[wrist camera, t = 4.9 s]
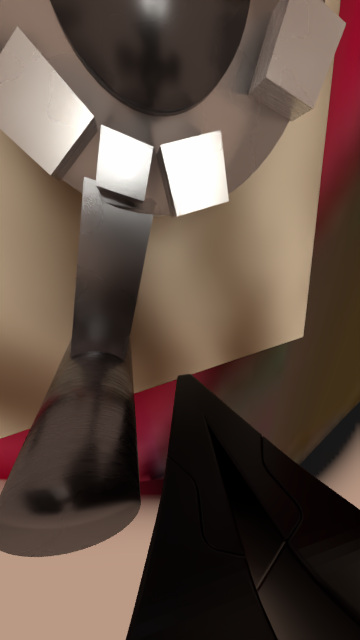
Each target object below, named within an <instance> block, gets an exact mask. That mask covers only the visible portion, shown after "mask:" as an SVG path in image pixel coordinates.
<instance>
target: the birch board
mask: <svg viewBox="0 0 360 640" xmlns="http://www.w3.org/2000/svg"><path fill="white" fill-rule="evenodd" d="M325 4H326V5H327V6H328V7H329V8H330V9H331V10H332V11H333V12H334V13H335V14H337V15H338V16H339V9H340V0H325ZM333 63H334V57H333V59H332V62H331V64H330V67H329V70H328V72H327V75H326V77H325V80H324V82H323V85H322V88H321V90H320V93H319V95H318V98H317V101H316V103H315V106H314V108H313V109H312V110H310V111H309V112H307V113H305V114H304V115H302V116H300V117H299V118H297V119H295V120H294V121H292V122H291V121H289V123H288V125H287V127H286V128H285V130H284V132H283V134H282V136H281V137H280V139H279V140H278V142H277V143H276V145H275V147H274V148H273V150H272V151H271V153H270V154H269V155H268V157H267V158H266V159H265V160H264V162H263V163H262V164H261V165H260V166H259V168H258V169H257V170H256V171H255V172H254V173H253V174H252V175H251V176H250V177H249V178H248V179H247V180H246V181H245V182H244V183H243V184H242V185H240V186H239V187H238V188H236V189H235V190H234V191H232V192H231V193H230V194H228V198H229V201H228V202H224V203H221V204H217V205H214V206H211V207H207V208H204V209H200V210H197V211H194V212H190V213H187V214H183V215H180V216H176V217H171V215H169V216H163V217H153V219H152V225H151V230H150V235H149V240H148V245H147V250H146V256H145V261H144V266H143V271H142V276H141V281H140V287H139V292H138V297H137V302H136V307H135V312H134V318H133V323H132V328H131V333H130V338H129V339H130V341H131V351H132V367H133V384H134V393H137V392H140V391H143V390H146V389H149V388H152V387H155V386H158V385H161V384H164V383H167V382H170V381H173V380H176V379H177V377H178V375H184V374H194V373H197V372H200V371H203V370H206V369H209V368H212V367H215V366H218V365H220V364H223V363H226V362H229V361H232V360H235V359H238V358H241V357H244V356H247V355H250V354H253V353H256V352H259V351H262V350H265V349H268V348H271V347H274V346H277V345H280V344H283V343H286V342H289V341H292V340H295V339H298V338H301V337H303V334H304V325H305V316H306V307H307V297H308V288H309V279H310V270H311V261H312V252H313V243H314V234H315V225H316V216H317V207H318V198H319V189H320V180H321V171H322V162H323V153H324V144H325V135H326V126H327V117H328V108H329V99H330V90H331V81H332V72H333ZM82 195H83V194H82V193H81V192H79V191H78V190H76V189H75V188H73V187H72V186H70V185H69V184H68V183H66V182H65V181H63V180H61V181H58V180H57V179H55V178H54V177H52V176H51V175H50V174H49V173H47V172H46V171H45V170H44V169H43V168H42V167H41V166H40V165H39V164H38V163H37V162H36V161H34V160H33V159H32V158H31V157H30V156H29V155H28V154H27V153H26V152H25V151H24V150H22V149H21V148H20V147H19V146H18V145H17V144H16V143H15V142H14V141H13V140H12V139H11V138H9V137H8V136H7V135H6V134H5V133H4V132H3V131H2V130H1V129H0V438H3V437H6V436H9V435H12V434H15V433H18V432H21V431H24V430H27V429H30V428H31V426H32V424H33V422H34V420H35V418H36V415H37V413H38V411H39V409H40V407H41V404H42V402H43V400H44V398H45V396H46V393H47V391H48V389H49V387H50V385H51V382H52V380H53V378H54V376H55V374H56V371H57V369H58V367H59V365H60V363H61V360H62V358H63V356H64V354H65V352H66V349H67V347H68V345H69V343H70V341H71V338H72V328H73V314H74V301H75V288H76V275H77V262H78V248H79V235H80V222H81V209H82Z"/></svg>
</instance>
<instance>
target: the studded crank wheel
mask: <svg viewBox="0 0 360 640" xmlns="http://www.w3.org/2000/svg"><path fill="white" fill-rule="evenodd" d="M345 26H346V23H345V22H344V21H343V20H342V19H341V18H340V17H339V16H338V15H337V14H335V13H334V12H333V11H332V10H331V9H330V8H329V7H328V6H327V5H326V4H325V0H0V129H1V130H2V131H3V132H4V133H5V134H6V135H7V136H8V137H9V138H11V139H12V140H13V141H14V142H15V143H16V144H17V145H18V146H19V147H20V148H21V149H22V150H24V151H25V152H26V153H27V154H28V155H29V156H30V157H31V158H32V159H33V160H34V161H36V162H37V163H38V164H39V165H40V166H41V167H42V168H43V169H44V170H45V171H46V172H47V173H49V174H50V175H51V176H52V177H54V178H55V179H57V180H58V181H61V180H63V181H65V182H66V183H68V184H69V185H70V186H72V187H73V188H75V189H76V190H78V191H79V192H81V193H82V194H83V195H82V209H81V222H80V235H79V248H78V262H77V275H76V288H75V301H74V314H73V328H72V338H71V341H70V343H69V345H68V347H67V349H66V352H65V354H64V356H63V358H62V360H61V363H60V365H59V367H58V369H57V371H56V374H55V376H54V378H53V380H52V382H51V385H50V387H49V389H48V391H47V393H46V396H45V398H44V400H43V402H42V404H41V407H40V409H39V411H38V413H37V415H36V418H35V420H34V422H33V424H32V426H31V429H30V431H29V433H28V435H27V437H26V440H25V442H24V444H23V446H22V448H21V451H20V453H19V455H18V457H17V459H16V462H15V464H14V466H13V468H12V470H11V473H10V475H9V477H8V479H7V481H6V484H5V486H4V488H3V490H2V492H1V495H0V550H1V551H3V552H6V553H8V554H12V555H18V556H27V557H44V556H54V555H61V554H66V553H71V552H74V551H78V550H81V549H85V548H88V547H91V546H93V545H96V544H98V543H100V542H102V541H105V540H106V539H109V538H110V537H112V536H114V535H115V534H117V533H119V532H120V531H121V530H123V529H124V528H125V527H126V526H127V525H129V524H130V522H132V520H133V519H134V518H135V516H136V515H137V514H138V511H139V509H140V505H141V500H140V482H139V466H138V450H137V433H136V417H135V400H134V384H133V367H132V351H131V341H130V339H129V338H130V333H131V328H132V323H133V318H134V312H135V307H136V302H137V297H138V292H139V287H140V281H141V276H142V271H143V266H144V261H145V256H146V250H147V245H148V240H149V235H150V230H151V225H152V219H153V217H163V216H169V215H171V217H176V216H180V215H183V214H187V213H190V212H194V211H197V210H200V209H204V208H207V207H211V206H214V205H217V204H221V203H224V202H228V201H229V198H228V194H230V193H231V192H232V191H234V190H235V189H236V188H238V187H239V186H240V185H242V184H243V183H244V182H245V181H246V180H247V179H248V178H249V177H250V176H251V175H252V174H253V173H254V172H255V171H256V170H257V169H258V168H259V166H260V165H261V164H262V163H263V162H264V160H265V159H266V158H267V157H268V155H269V154H270V153H271V151H272V150H273V148H274V147H275V145H276V143H277V142H278V140H279V139H280V137H281V136H282V134H283V132H284V130H285V128H286V127H287V125H288V123H289V121H291V122H292V121H294V120H295V119H297V118H299V117H300V116H302V115H304V114H305V113H307V112H309V111H310V110H312V109H313V108H314V106H315V103H316V101H317V98H318V95H319V93H320V90H321V88H322V85H323V82H324V80H325V77H326V75H327V72H328V70H329V67H330V64H331V62H332V59H333V57H334V54H335V51H336V49H337V46H338V44H339V41H340V39H341V36H342V33H343V31H344V28H345Z"/></svg>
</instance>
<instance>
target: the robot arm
mask: <svg viewBox="0 0 360 640" xmlns="http://www.w3.org/2000/svg"><path fill="white" fill-rule="evenodd" d="M126 640H360V510H359V509H358V508H357V507H355V506H354V505H353V504H351V503H350V502H348V501H347V500H346V499H344V498H343V497H342V496H340V495H339V494H337V493H336V492H335V491H333V490H332V489H330V488H329V487H328V486H326V485H325V484H324V483H322V482H321V481H320V480H318V479H317V478H315V477H314V476H312V475H311V474H310V473H309V472H307V471H306V470H305V469H303V468H302V467H301V466H299V465H298V464H297V463H295V462H294V461H293V460H291V459H290V458H289V457H288V456H287V455H285V454H284V453H283V452H282V451H280V450H279V449H278V448H277V447H276V446H274V445H273V444H272V443H271V442H270V441H268V440H267V439H266V438H265V437H264V436H263V437H262V435H261V434H260V433H259V432H258V431H257V430H255V429H254V428H253V427H252V426H251V425H250V424H248V423H247V422H246V421H245V420H244V419H243V418H241V417H240V416H239V415H238V414H237V413H235V412H234V411H233V410H232V409H231V408H230V407H228V406H227V405H226V404H225V403H224V402H223V401H221V400H220V399H219V398H218V397H217V396H216V395H214V394H213V393H212V392H211V391H210V390H209V389H207V388H206V387H205V386H204V385H203V384H202V383H200V382H199V381H198V380H197V379H196V378H195V377H193V376H192V375H191V374H184V375H178V377H177V384H176V391H175V399H174V407H173V415H172V423H171V431H170V439H169V447H168V454H167V461H166V469H165V476H164V482H163V489H162V495H161V499H160V504H159V508H158V513H157V517H156V522H155V526H154V530H153V534H152V538H151V542H150V546H149V550H148V554H147V559H146V562H145V566H144V571H143V575H142V578H141V582H140V587H139V591H138V595H137V599H136V603H135V607H134V611H133V615H132V618H131V622H130V626H129V630H128V634H127V637H126Z"/></svg>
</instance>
